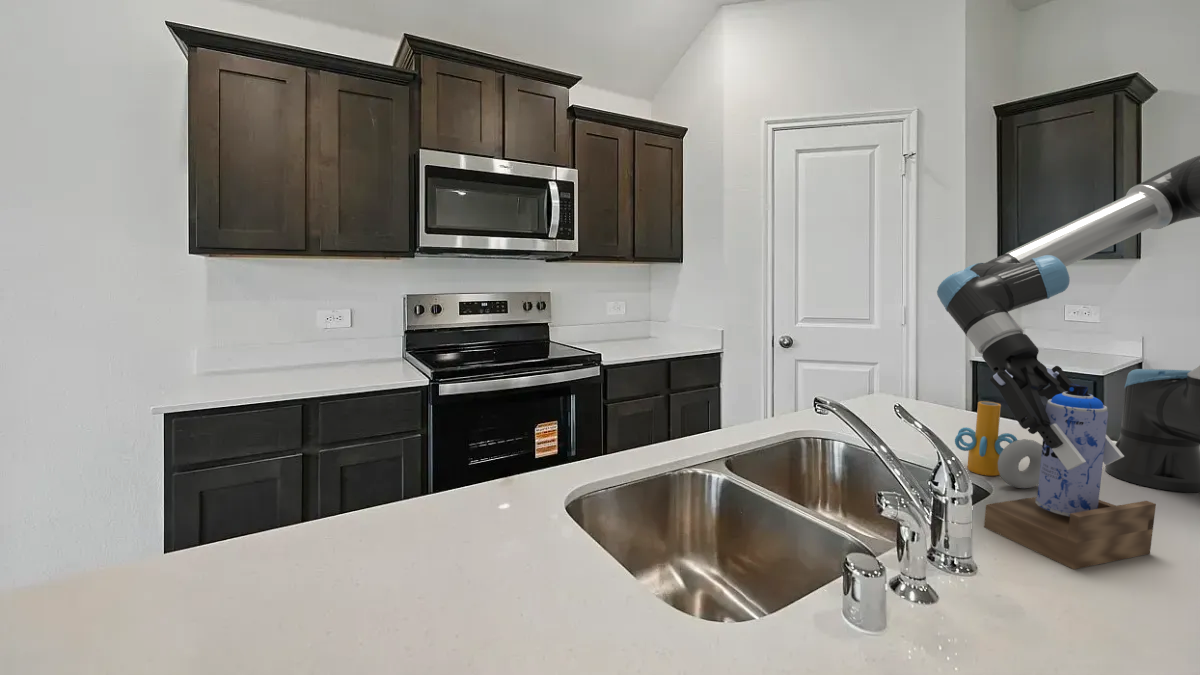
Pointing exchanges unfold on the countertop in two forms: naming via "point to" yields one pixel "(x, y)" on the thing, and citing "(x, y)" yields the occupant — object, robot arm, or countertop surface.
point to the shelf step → (1076, 530)
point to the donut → (1012, 458)
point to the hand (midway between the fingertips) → (1095, 463)
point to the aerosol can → (1087, 433)
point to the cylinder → (984, 440)
